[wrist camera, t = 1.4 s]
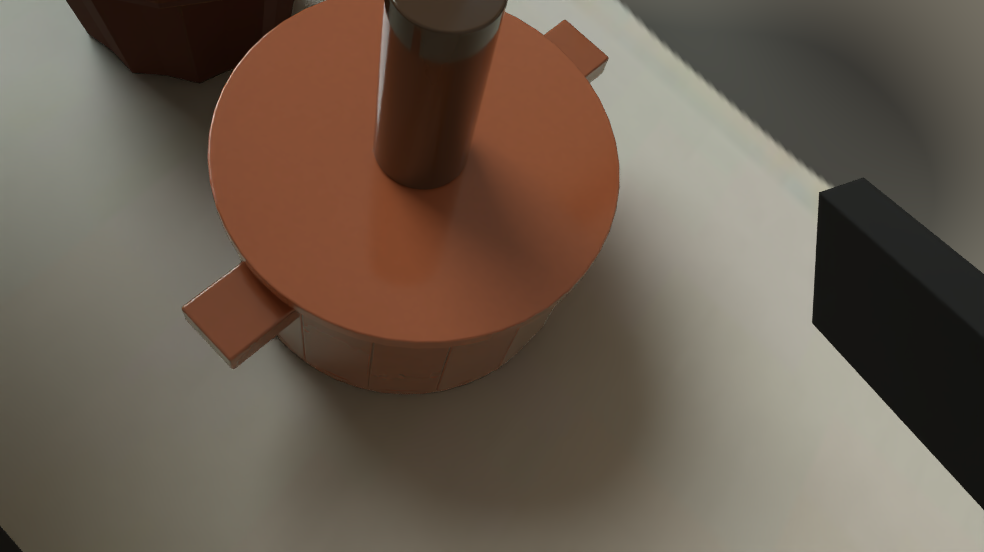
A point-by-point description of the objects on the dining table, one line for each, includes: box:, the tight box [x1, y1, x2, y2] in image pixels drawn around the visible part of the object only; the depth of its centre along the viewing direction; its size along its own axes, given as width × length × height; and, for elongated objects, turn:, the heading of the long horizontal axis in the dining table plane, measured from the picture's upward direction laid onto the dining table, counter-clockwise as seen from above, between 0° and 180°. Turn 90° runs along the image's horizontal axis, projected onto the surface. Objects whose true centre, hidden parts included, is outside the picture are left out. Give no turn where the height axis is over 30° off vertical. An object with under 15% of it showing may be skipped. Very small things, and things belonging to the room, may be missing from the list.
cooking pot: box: [182, 20, 609, 394], centre depth 34 cm, size 13×18×6 cm
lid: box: [207, 0, 619, 349], centre depth 28 cm, size 14×14×9 cm
